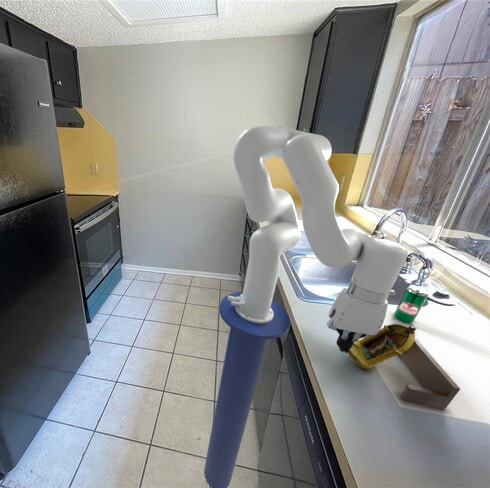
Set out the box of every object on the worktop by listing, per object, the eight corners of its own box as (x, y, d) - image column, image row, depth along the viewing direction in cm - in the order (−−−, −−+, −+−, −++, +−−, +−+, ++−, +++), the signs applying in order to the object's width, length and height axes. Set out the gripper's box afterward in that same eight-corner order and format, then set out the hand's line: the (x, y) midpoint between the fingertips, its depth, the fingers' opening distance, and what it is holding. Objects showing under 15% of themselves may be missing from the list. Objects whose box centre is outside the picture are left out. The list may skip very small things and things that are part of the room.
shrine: (392, 364, 68) (417, 319, 62) (394, 385, 62) (421, 338, 56) (342, 343, 75) (360, 300, 69) (339, 361, 69) (358, 316, 63)
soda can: (391, 318, 86) (406, 288, 81) (394, 312, 89) (409, 282, 84) (411, 326, 82) (428, 295, 77) (413, 319, 86) (430, 289, 81)
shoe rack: (402, 400, 59) (416, 379, 56) (363, 338, 77) (372, 320, 74) (444, 410, 57) (460, 389, 54) (395, 344, 75) (405, 325, 72)
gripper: (395, 288, 63) (367, 344, 70) (327, 277, 66) (308, 332, 73) (413, 306, 56) (381, 366, 63) (337, 294, 59) (315, 352, 67)
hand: (342, 348), depth 68 cm, fingers closed
